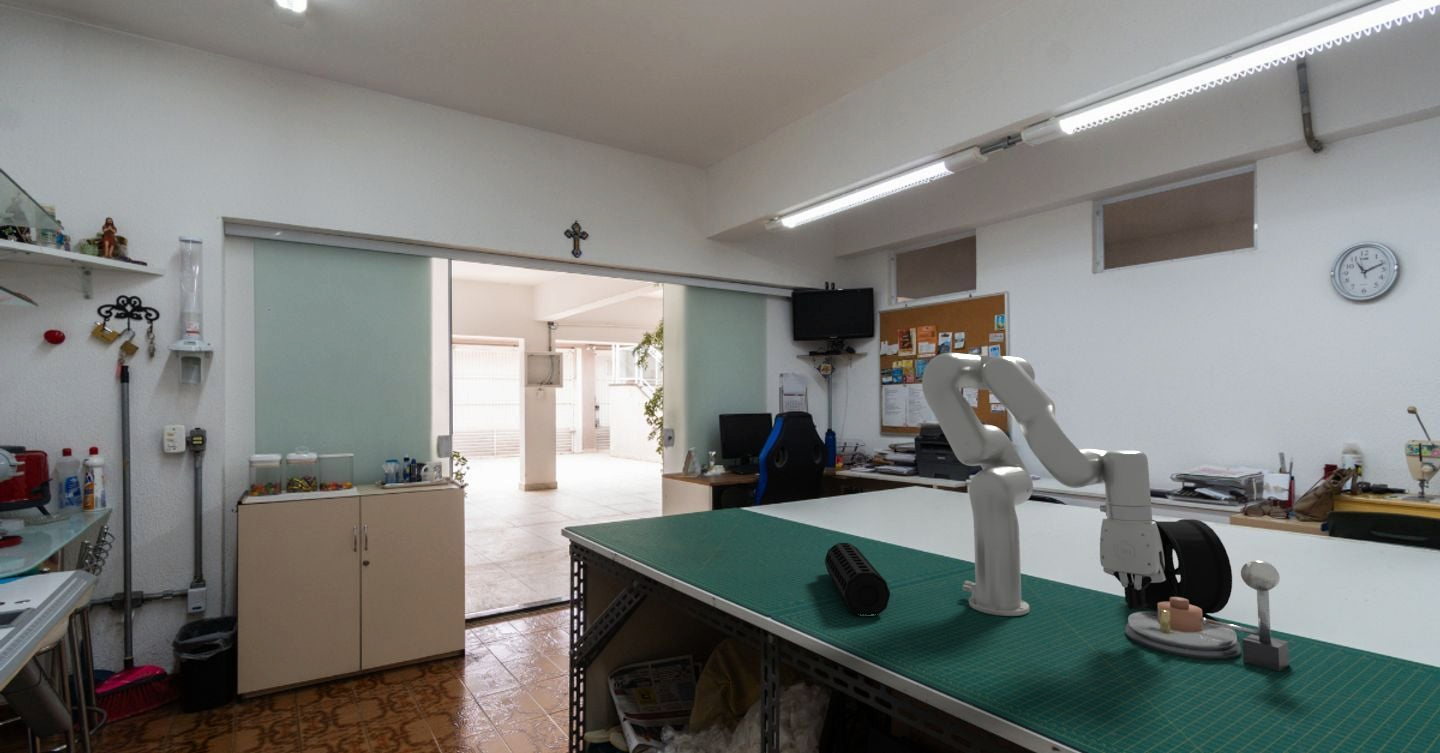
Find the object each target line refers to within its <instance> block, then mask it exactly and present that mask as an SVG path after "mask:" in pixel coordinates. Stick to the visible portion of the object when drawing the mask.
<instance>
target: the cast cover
mask: <svg viewBox="0 0 1440 753" xmlns="http://www.w3.org/2000/svg"><path fill="white" fill-rule="evenodd" d="M1161 609H1163V610H1168V611H1170V624H1171V629H1174V630H1179V631H1187V632H1198V631H1202V630H1203V623H1202V621H1201V619H1202V618H1203V613H1202V609H1201V608H1199V607H1196V606H1193V605H1190V604H1189V600H1188V599H1185V598H1180V597H1170V602H1159V603H1158V622H1159V624H1160V610H1161Z"/></svg>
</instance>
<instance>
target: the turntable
mask: <svg viewBox="0 0 1440 753" xmlns="http://www.w3.org/2000/svg"><path fill="white" fill-rule="evenodd" d="M1127 621H1128V622H1127V623H1129V628H1130V629H1131V630H1132V631H1133V632H1135V633H1137V634H1138V635H1140V636H1143V637H1145V638H1148V639H1151V640H1154V641H1157V642H1160V643H1164V644H1168V645H1173V646H1178V647H1183V648H1190V649H1200V650H1225V649H1230V648H1233V647H1235V646H1236V645H1237V641H1238V634H1237V632H1236V630H1233V629H1229V628H1224V627H1220V626H1216V625H1211V624H1207V623H1203V630H1202V631H1198V632H1187V631H1179V630H1174V629H1171V624H1170V611H1168V610H1163V609H1161V610H1160V624H1159V622H1158V611H1154V610H1151V611H1149V610H1148V611H1147V610H1146V611H1136V612H1133V613H1131V614H1129V615H1128V620H1127Z"/></svg>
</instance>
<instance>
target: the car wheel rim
mask: <svg viewBox="0 0 1440 753" xmlns="http://www.w3.org/2000/svg"><path fill="white" fill-rule="evenodd" d="M1152 521H1154V522H1156V524H1157V527H1158V530H1159V533H1160V537H1161V542H1162V547H1163V553H1164V561H1165V569H1164V571H1163V572H1164V575H1165V578H1166V580H1165V581H1163V582H1156V583H1150V584H1149V585H1148V586H1147V587H1145V600H1146V604H1145V606H1147V607H1148V608H1150V609H1152V611H1158V603H1159V602H1170V597H1180V598H1185V599H1188V600H1189V604H1190V605H1193V606H1196V607H1199V608H1201V609H1202V614H1217V613H1219V612H1221V611H1222V610H1223V609H1224V608H1225V607H1226V606H1227V604H1228V603H1229V600H1230V598H1231V595H1232V589H1233V573H1232V572H1233V571H1232V566H1231V562H1230V558H1229V555H1228V552H1227V549H1226V547H1225V545H1224V543H1223V541H1222V540H1221V538H1220V536H1219V535H1218V534H1217V533H1216V532H1215V531H1214V529H1213V528H1212V527H1211V526H1209V525H1208V524H1207V523H1205V522H1204V521H1201V520H1198V519H1194V518H1192V519H1191V518H1190V519H1189V518H1188V519H1186V518H1184V519H1182V518H1181V519H1178V520H1176V521H1169V520H1168V521H1161V520H1160V521H1157V520H1155V519H1152ZM1173 551H1174V552H1175V554H1176V557H1177V567H1175V564H1174V554H1173V553H1174V552H1173ZM1132 575H1133V580H1134V583H1135V574H1132ZM1177 576H1180V578H1179V580H1180V581H1178V579H1177V578H1178V577H1177Z"/></svg>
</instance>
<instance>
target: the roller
mask: <svg viewBox="0 0 1440 753" xmlns="http://www.w3.org/2000/svg"><path fill="white" fill-rule="evenodd" d="M824 564H825V567H826V568H825V569H826V571H827V573H828V574H829V576H830V577H831V580H832V581H833V583H834V585H835V587H836V588H837V590H838V592H839V593H840V595H841V597H842V599H843V600H844V603H845V604H846V606H847V608H848V609H849V610H850V611H851V612H853V613H854V614H856V615H857V614H859V615H860V614H861V615H863V614H864V615H865V614H866V615H871V614H874V615H875V614H876V615H877V614H878V615H879V614H881V613H882V612H884V611H885V610H886V609H887V608H888V603H889V601H890V597H891V592H890V589H889V585H888V582H887V581H886V580H885V578H884V577H883V576H882V575H881V574H880V573H879V571H878V570H877V569H876V568H875V567H874V565H873V564H872V563H871V561H869V560H868V559H867V558H866V557H865V555H863V553H862V552H861V551H860V550H859V549H858V548H857V547H856V546H855V545H853V543H852V544H851V543H850V542H837V543H835V544H834V545H833V546H832V547H830V548H829V549H827V551H826V556H825V559H824ZM878 615H877V616H878Z"/></svg>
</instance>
